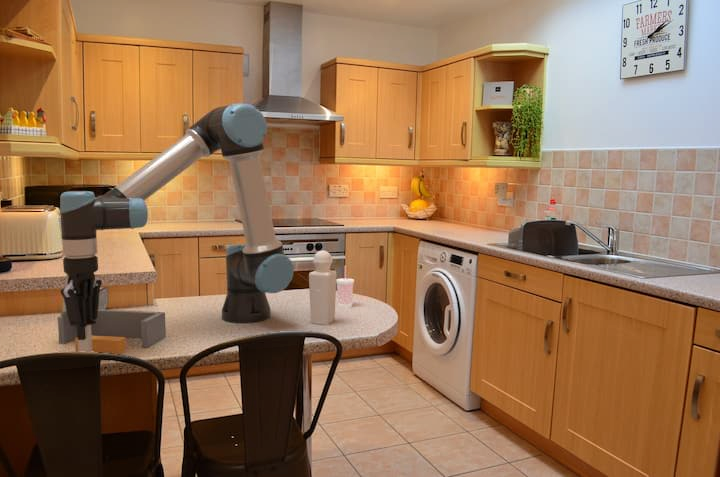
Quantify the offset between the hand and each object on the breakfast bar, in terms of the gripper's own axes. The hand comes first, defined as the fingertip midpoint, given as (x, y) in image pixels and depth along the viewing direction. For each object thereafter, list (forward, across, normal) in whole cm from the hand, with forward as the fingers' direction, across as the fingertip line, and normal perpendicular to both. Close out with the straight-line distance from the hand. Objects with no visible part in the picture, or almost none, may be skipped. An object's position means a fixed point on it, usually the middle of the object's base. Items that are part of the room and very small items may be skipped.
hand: (85, 351), depth 144 cm
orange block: (+2, -6, 0) cm, 7 cm away
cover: (-17, -15, -10) cm, 25 cm away
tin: (+2, -42, -23) cm, 48 cm away
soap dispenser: (+2, -43, +50) cm, 66 cm away
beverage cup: (+2, -65, +53) cm, 84 cm away
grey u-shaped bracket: (+2, -16, -2) cm, 16 cm away
